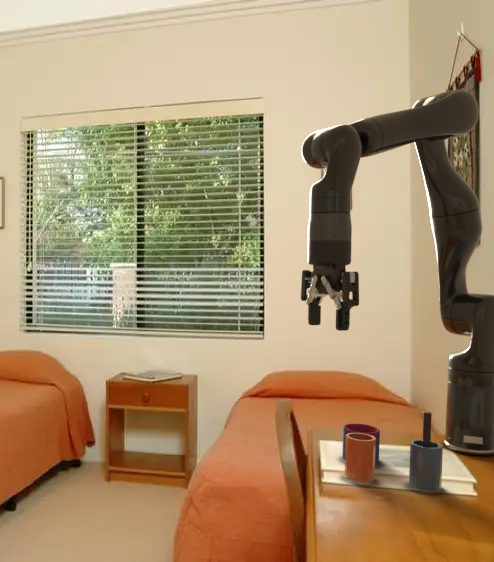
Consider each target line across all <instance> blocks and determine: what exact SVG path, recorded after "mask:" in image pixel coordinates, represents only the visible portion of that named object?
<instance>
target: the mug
mask: <svg viewBox="0 0 494 562" xmlns="http://www.w3.org/2000/svg"><path fill="white" fill-rule="evenodd" d="M342 429H343V430H342V459H343V460H344V461H345V446H346V434H348V433H364V434H368V435H371V436H374V437H375V438H376V448H375V465H377V464H379V463H380V438H381V430H380V428H379V427H377V426H374V425H371V424H365V423H355V422H354V423H351V422H350V423H345V424H344V425H343V428H342Z"/></svg>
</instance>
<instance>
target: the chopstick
mask: <svg viewBox="0 0 494 562" xmlns="http://www.w3.org/2000/svg"><path fill="white" fill-rule="evenodd" d="M422 415H423V416H422V418H423V419H422V438H421V440H422V447H429V448H430V443H431V441H432V440H431V439H432V415H433V413H432V411H427V410H426V411H425V410H424V411H423V414H422Z"/></svg>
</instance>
